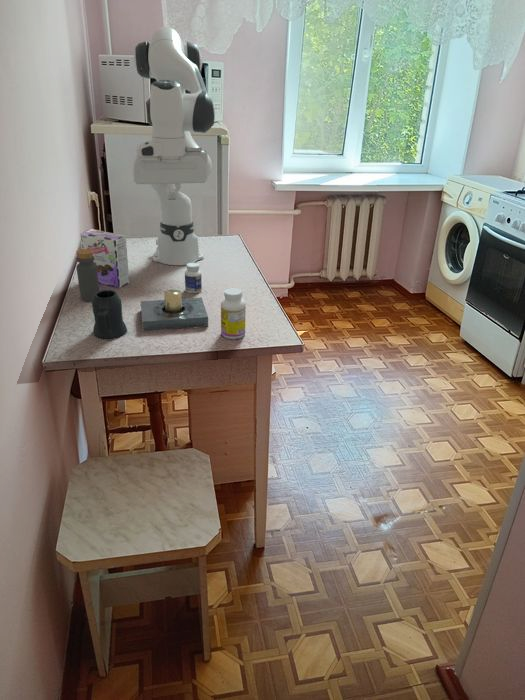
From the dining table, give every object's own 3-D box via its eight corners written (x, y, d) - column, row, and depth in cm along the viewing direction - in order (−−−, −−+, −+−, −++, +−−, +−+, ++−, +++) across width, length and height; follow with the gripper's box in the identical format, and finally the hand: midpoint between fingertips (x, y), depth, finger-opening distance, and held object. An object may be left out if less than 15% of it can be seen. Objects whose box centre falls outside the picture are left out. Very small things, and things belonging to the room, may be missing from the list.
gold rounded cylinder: (165, 315, 155) (163, 289, 152) (181, 314, 156) (180, 289, 153) (166, 322, 151) (164, 296, 148) (183, 321, 152) (182, 295, 148)
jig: (141, 310, 158) (140, 301, 156) (201, 306, 162) (201, 297, 160) (143, 331, 146) (142, 321, 144) (208, 326, 150) (208, 317, 148)
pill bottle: (198, 294, 170) (198, 268, 166) (183, 292, 171) (182, 266, 166) (203, 288, 174) (203, 262, 170) (188, 286, 175) (187, 261, 171)
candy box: (85, 281, 177) (79, 232, 169) (97, 275, 182) (91, 228, 174) (119, 288, 172) (114, 239, 164) (130, 282, 177) (126, 234, 169)
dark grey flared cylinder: (97, 324, 149) (91, 287, 144) (129, 324, 150) (126, 287, 144) (86, 344, 138) (81, 305, 133) (122, 344, 139) (118, 305, 134)
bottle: (104, 297, 166) (98, 250, 158) (89, 303, 161) (83, 255, 154) (92, 292, 168) (85, 247, 161) (76, 298, 164) (69, 251, 157)
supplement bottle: (221, 329, 149) (220, 286, 142) (244, 329, 149) (245, 286, 143) (221, 340, 143) (220, 296, 137) (245, 340, 143) (246, 296, 137)
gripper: (205, 145, 149) (206, 196, 155) (130, 146, 144) (135, 197, 151) (208, 149, 143) (209, 201, 150) (131, 149, 139) (135, 203, 146)
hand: (171, 199), depth 150 cm, fingers closed
